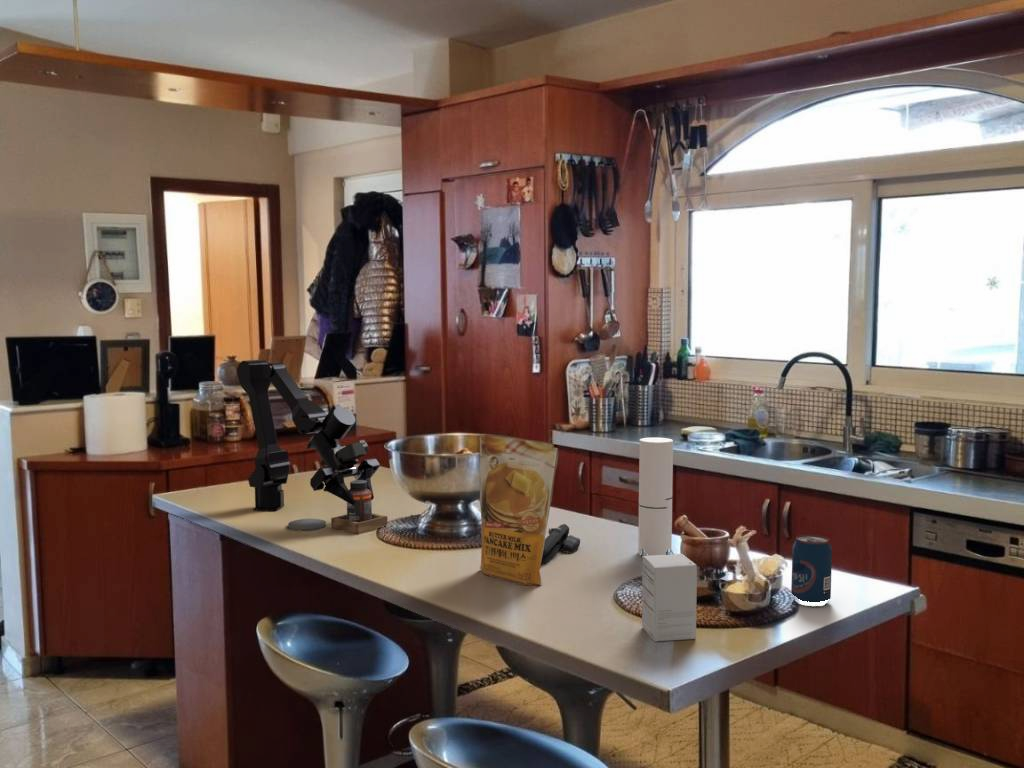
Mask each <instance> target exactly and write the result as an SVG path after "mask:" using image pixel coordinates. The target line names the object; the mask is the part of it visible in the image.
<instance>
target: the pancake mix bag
mask: <svg viewBox="0 0 1024 768" xmlns="http://www.w3.org/2000/svg"><path fill="white" fill-rule="evenodd" d="M478 445H479V455H478V459H479V507H480V522H481V524H480V525H481V527H480V528H481V529H480V530H481V531H480V532H481V551H480V552H481V553H480V555H481V556H480V564H479V565H480V566H479V570H481V571H482V572H483V574H484V575H486V576H489V577H493V578H496V579H499V580H503V581H508V582H512V583H514V584H518V585H524V586H531V585H537V586H542V585H543V584H542V577H541V572H540V570H541V560H542V555H543V550H544V543H545V539H546V533H547V527H548V524H549V523H548V522H549V517H550V508H551V505H552V501H553V493H554V484H555V477H556V472H557V469H558V468H557V467H558V464H559V458H560V457H559V448H558V447H556V446H555V445H554V444H553V443H552V442H548V441H543V440H542V441H541V440H534V439H533V440H532V439H526V438H525V439H524V438H521V437H514V436H508V435H507V436H505V435H497V434H496V435H495V434H483V435H481V436H478Z"/></svg>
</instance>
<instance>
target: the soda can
mask: <svg viewBox="0 0 1024 768" xmlns="http://www.w3.org/2000/svg"><path fill="white" fill-rule="evenodd" d="M791 557H792V559H791V589H790V591H791V593H792V594H793V595H794V596H796V597H797V598H798V599H800V600H802V601H807V602H808V601H809V602H820V601H825V600H828V599H830V600H831V598H832V593H831V592H832V565H833V563H832V562H833V561H832V560H833V559H832V558H833V548H832V546H831V544H830V539H829V538H828V537H826V536H822V535H818V534H801V535H800V534H799V535H797V536H796V537H795V541H794V543H793V545H792V553H791ZM791 593H790V594H791Z"/></svg>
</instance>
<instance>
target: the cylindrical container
mask: <svg viewBox="0 0 1024 768" xmlns="http://www.w3.org/2000/svg"><path fill="white" fill-rule="evenodd" d="M638 453H639V454H638V455H639V459H638V460H639V463H638V464H639V467H638V471H639V473H638V476H639V477H638V480H639V481H638V542H637V543H638V544H637V546H638V549H637V550H638V552H637V554H638V555H639V556H641V555H640V554H641V549H643V550H645V552H646V553H647V554H648V556H651V555H666V552H667V549H671V550H672V546H673V545H672V543H673V542H672V541H673V540H672V537H673V536H672V535H673V533H672V532H673V530H672V529H673V481H674V480H673V479H674V478H673V477H674V476H673V473H674V472H673V471H674V469H673V468H674V467H673V464H674V440H673V439H671V438H666V437H644V438H643V437H642V438H640V439H639V452H638Z"/></svg>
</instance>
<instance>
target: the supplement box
mask: <svg viewBox="0 0 1024 768" xmlns="http://www.w3.org/2000/svg"><path fill="white" fill-rule="evenodd" d="M641 557H642V560H641V561H642V563H641V564H642V566H641V567H642V568H641V569H642V570H641V571H642V574H641V575H642V580H641V581H642V586H641V588H642V589H641V591H642V593H641V594H642V595H641V596H642V597H641V598H642V599H641V604H642V605H641V626H642V628H643V630H645V632H646V633H647V635H648V636H650V638H651V639H652V640H653V641H654V643H655V642H656V643H657V642H665V641H681V640H683V641H684V640H696V638H697V590H698V589H697V583H698V582H697V580H698V578H697V577H698V575H697V574H698V566H697V564H696V563H694V561H692V560H691V559H689V558H688V557H687V556H685V555H684V554H683V553H675V554H674V553H673V554H672V553H671V554H670V555H651V556H641Z"/></svg>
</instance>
